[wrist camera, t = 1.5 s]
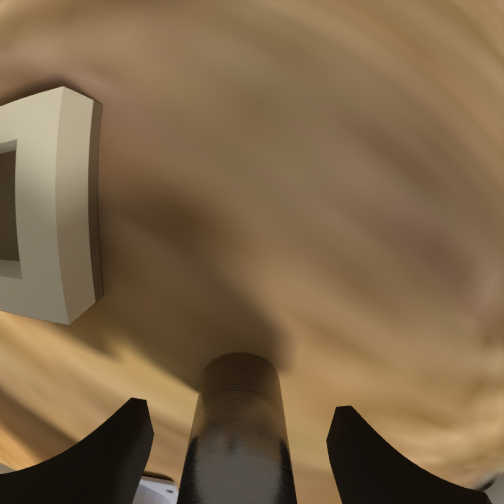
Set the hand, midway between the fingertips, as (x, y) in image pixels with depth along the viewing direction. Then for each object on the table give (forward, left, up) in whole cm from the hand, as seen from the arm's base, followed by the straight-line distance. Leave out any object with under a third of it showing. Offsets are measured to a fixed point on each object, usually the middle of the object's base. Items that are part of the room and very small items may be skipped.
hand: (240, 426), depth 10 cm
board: (+8, +15, -3) cm, 17 cm away
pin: (0, 0, -3) cm, 3 cm away
